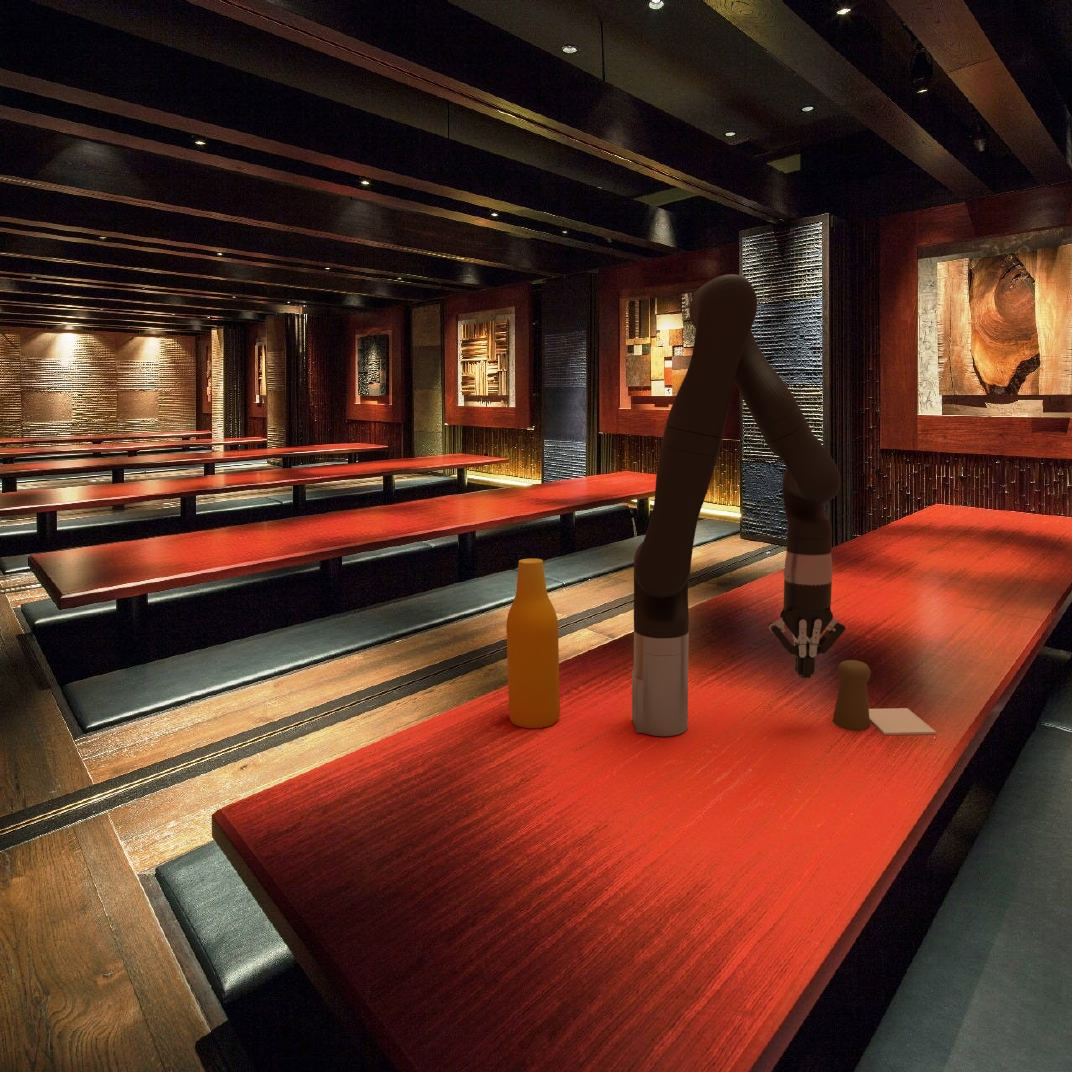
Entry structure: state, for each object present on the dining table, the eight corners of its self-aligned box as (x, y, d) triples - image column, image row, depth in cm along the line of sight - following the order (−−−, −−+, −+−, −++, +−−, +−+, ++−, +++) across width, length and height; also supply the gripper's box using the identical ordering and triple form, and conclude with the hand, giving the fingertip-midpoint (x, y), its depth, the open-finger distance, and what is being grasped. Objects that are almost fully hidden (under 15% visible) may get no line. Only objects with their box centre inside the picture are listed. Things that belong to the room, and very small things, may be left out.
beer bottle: (504, 728, 131) (498, 565, 126) (514, 707, 140) (509, 555, 135) (556, 730, 129) (553, 566, 124) (563, 709, 138) (560, 555, 133)
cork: (838, 713, 134) (841, 654, 132) (874, 721, 130) (878, 660, 128) (827, 724, 129) (830, 663, 127) (864, 733, 125) (867, 670, 124)
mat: (884, 734, 125) (884, 732, 125) (859, 711, 134) (859, 708, 134) (935, 734, 124) (936, 731, 124) (907, 710, 134) (907, 708, 134)
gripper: (774, 583, 122) (772, 685, 125) (856, 582, 122) (852, 683, 124) (761, 573, 129) (759, 669, 132) (838, 572, 129) (834, 668, 132)
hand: (804, 676), depth 128 cm, fingers closed
